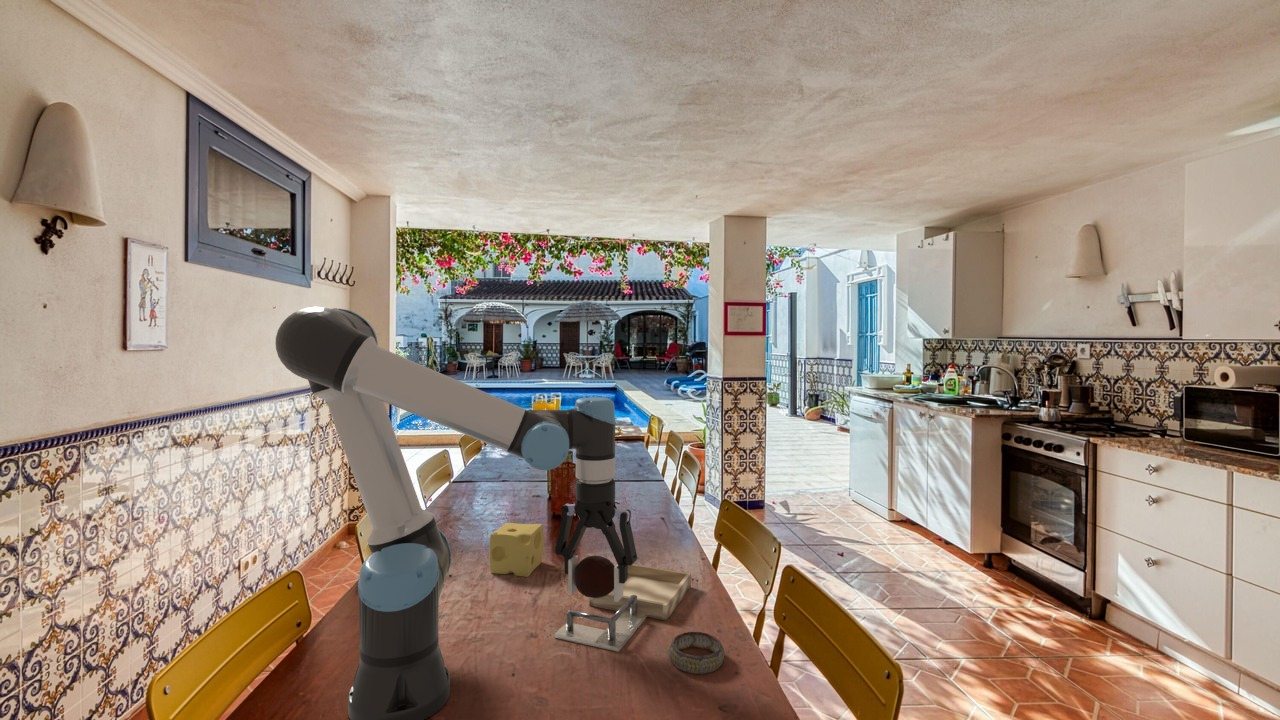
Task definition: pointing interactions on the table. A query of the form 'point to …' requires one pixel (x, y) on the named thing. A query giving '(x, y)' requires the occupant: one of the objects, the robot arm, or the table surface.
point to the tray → (649, 591)
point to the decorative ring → (696, 662)
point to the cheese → (516, 549)
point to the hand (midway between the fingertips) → (595, 594)
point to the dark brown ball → (594, 576)
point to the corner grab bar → (610, 638)
